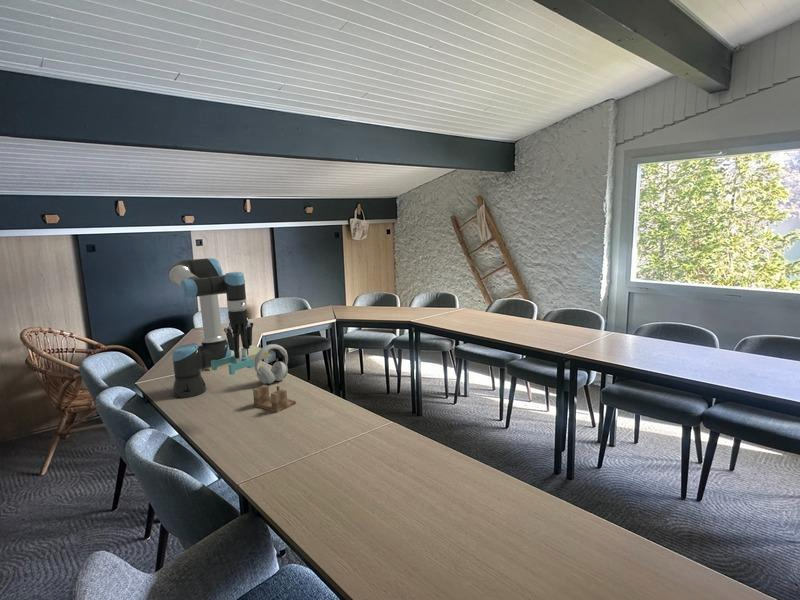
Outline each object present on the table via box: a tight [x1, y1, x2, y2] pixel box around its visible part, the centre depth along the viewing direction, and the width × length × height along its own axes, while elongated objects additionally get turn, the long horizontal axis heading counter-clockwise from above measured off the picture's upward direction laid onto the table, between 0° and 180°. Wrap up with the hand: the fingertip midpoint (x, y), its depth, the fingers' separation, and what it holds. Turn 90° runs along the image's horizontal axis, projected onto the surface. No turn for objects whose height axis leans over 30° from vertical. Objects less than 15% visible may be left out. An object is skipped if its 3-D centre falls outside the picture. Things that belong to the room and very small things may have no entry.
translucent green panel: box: [205, 344, 270, 372], centre depth 282 cm, size 36×5×24 cm
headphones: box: [254, 343, 289, 385], centre depth 238 cm, size 18×10×20 cm, turn 137°
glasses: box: [211, 355, 255, 376], centre depth 192 cm, size 12×13×4 cm
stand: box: [252, 384, 297, 413], centre depth 209 cm, size 11×15×8 cm
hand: (242, 364), depth 196 cm, fingers closed on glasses, 2 cm apart
